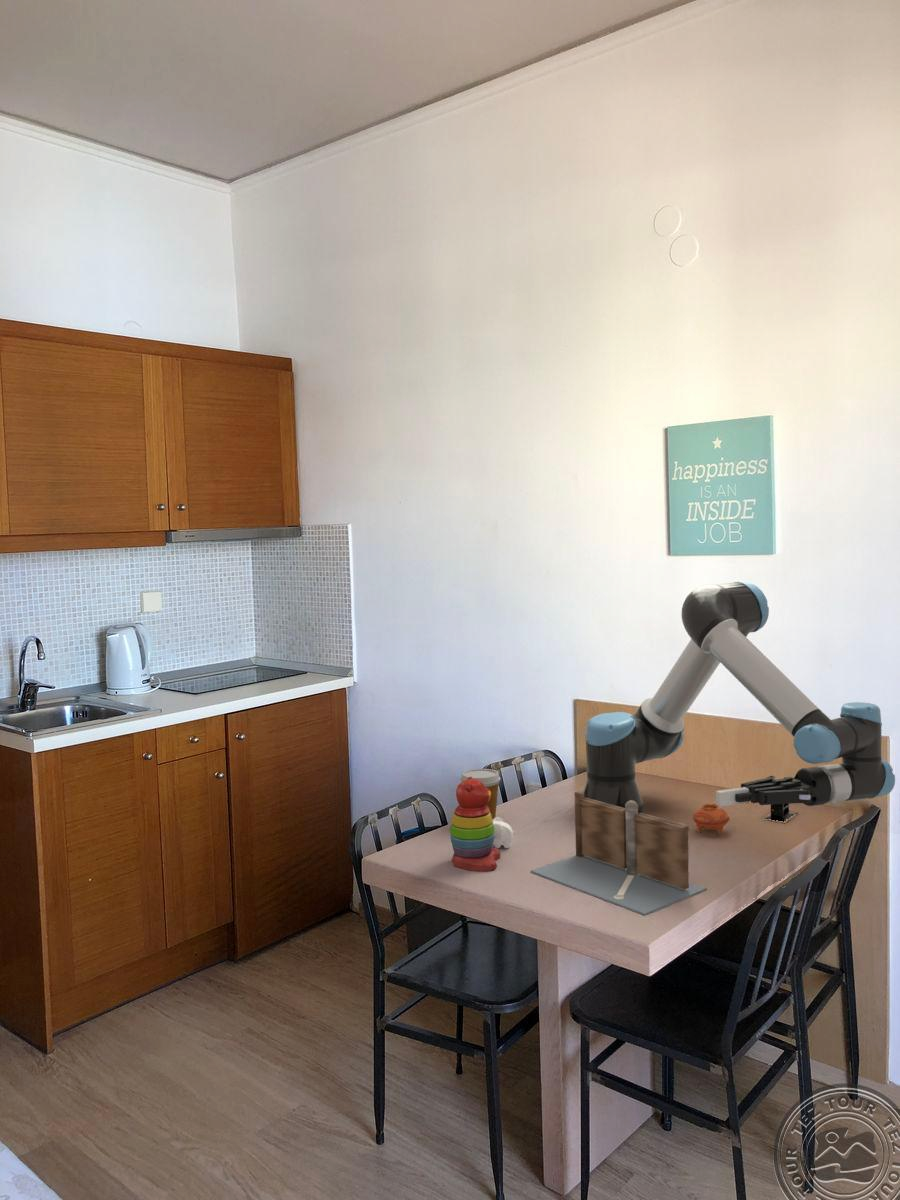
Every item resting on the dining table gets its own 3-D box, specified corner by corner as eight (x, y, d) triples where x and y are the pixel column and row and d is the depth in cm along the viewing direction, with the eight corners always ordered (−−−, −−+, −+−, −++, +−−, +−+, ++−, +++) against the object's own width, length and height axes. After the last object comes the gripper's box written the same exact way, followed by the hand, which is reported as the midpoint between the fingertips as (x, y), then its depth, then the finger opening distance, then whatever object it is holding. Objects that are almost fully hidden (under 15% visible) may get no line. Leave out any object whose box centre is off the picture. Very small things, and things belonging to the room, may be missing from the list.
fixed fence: (572, 856, 209) (571, 787, 208) (581, 853, 210) (580, 784, 209) (633, 877, 196) (632, 803, 195) (642, 874, 197) (640, 800, 196)
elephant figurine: (482, 841, 221) (481, 815, 220) (517, 841, 220) (517, 815, 220) (481, 851, 214) (480, 825, 213) (518, 851, 213) (517, 824, 213)
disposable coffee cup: (470, 815, 240) (468, 767, 239) (507, 818, 237) (505, 769, 236) (455, 827, 232) (454, 777, 231) (493, 830, 228) (492, 779, 227)
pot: (738, 830, 222) (734, 803, 220) (714, 845, 218) (710, 818, 216) (711, 821, 228) (707, 794, 227) (688, 835, 225) (683, 808, 223)
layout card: (530, 871, 201) (530, 870, 201) (591, 851, 212) (591, 849, 212) (644, 915, 177) (644, 913, 177) (706, 889, 188) (706, 887, 188)
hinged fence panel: (635, 873, 196) (634, 814, 195) (641, 871, 197) (640, 812, 196) (683, 889, 187) (682, 828, 186) (689, 887, 188) (689, 825, 187)
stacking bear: (495, 872, 201) (493, 786, 200) (446, 870, 203) (444, 786, 202) (501, 854, 212) (499, 773, 211) (455, 852, 214) (453, 772, 212)
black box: (785, 828, 225) (785, 808, 225) (754, 822, 230) (754, 803, 229) (803, 814, 235) (803, 795, 234) (773, 809, 239) (773, 791, 239)
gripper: (842, 812, 192) (737, 826, 186) (801, 795, 205) (700, 808, 198) (842, 774, 192) (736, 787, 185) (800, 760, 204) (699, 772, 197)
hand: (718, 798), depth 192 cm, fingers closed
